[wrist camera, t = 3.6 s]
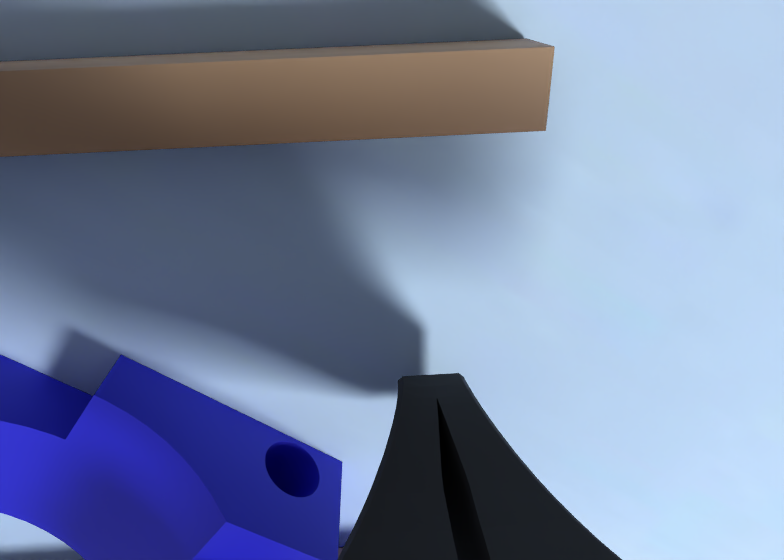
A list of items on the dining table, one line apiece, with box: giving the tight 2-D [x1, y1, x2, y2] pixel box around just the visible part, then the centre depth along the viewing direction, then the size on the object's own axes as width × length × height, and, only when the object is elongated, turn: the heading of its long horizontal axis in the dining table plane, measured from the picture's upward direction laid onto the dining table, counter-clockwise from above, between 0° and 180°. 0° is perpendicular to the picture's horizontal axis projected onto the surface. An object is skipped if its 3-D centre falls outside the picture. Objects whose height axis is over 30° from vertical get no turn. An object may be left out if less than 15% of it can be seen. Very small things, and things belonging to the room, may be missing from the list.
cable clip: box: [0, 355, 342, 560], centre depth 10 cm, size 12×4×6 cm, turn 53°
